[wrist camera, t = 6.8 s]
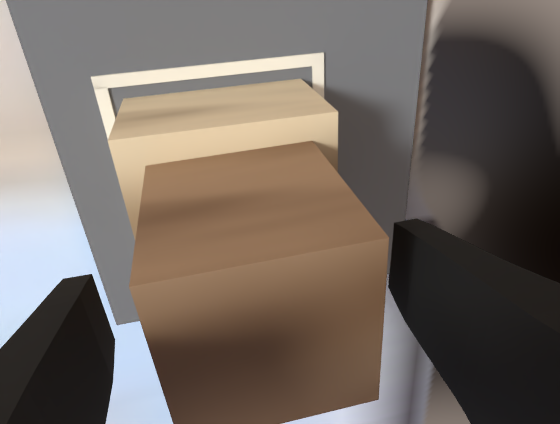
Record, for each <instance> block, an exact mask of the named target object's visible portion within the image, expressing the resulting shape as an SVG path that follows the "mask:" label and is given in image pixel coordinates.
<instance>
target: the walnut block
mask: <svg viewBox="0 0 560 424" xmlns="http://www.w3.org/2000/svg"><path fill="white" fill-rule="evenodd" d="M388 247H389V237H388V236H387V234H386V233H385V232H384V231H383V229H382V228H381V227H380V226H379V224H378V223H377V222H376V221H375V219H374V218H373V217H372V215H371V214H370V213H369V212H368V210H367V209H366V208H365V207H364V205H363V204H362V203H361V202H360V200H359V199H358V198H357V197H356V195H355V194H354V193H353V191H352V190H351V189H350V188H349V186H348V185H347V184H346V183H345V181H344V180H343V179H342V178H341V176H340V175H339V174H338V173H337V171H336V170H335V169H334V168H333V166H332V165H331V164H330V162H329V161H328V160H327V159H326V157H325V156H324V155H323V154H322V152H321V151H320V150H319V149H318V147H317V146H316V145H315V144H314V142H313V141H306V142H300V143H293V144H286V145H280V146H273V147H266V148H260V149H253V150H246V151H240V152H233V153H227V154H220V155H213V156H207V157H200V158H193V159H187V160H180V161H173V162H167V163H160V164H153V165H147V166H145V173H144V181H143V188H142V195H141V203H140V210H139V217H138V225H137V232H136V239H135V246H134V254H133V261H132V268H131V276H130V283H129V289H130V292H131V295H132V298H133V301H134V304H135V307H136V310H137V313H138V316H139V319H140V322H141V325H142V329H143V332H144V335H145V338H146V341H147V344H148V347H149V350H150V353H151V356H152V359H153V362H154V365H155V368H156V372H157V375H158V378H159V381H160V384H161V387H162V390H163V393H164V396H165V399H166V402H167V405H168V408H169V412H170V415H171V418H172V421H173V424H281V423H285V422H289V421H293V420H298V419H302V418H306V417H310V416H314V415H318V414H322V413H326V412H330V411H334V410H338V409H342V408H346V407H350V406H354V405H359V404H363V403H367V402H371V401H375V400H378V399H379V383H380V368H381V353H382V338H383V323H384V308H385V293H386V277H387V262H388Z"/></svg>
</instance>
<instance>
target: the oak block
mask: <svg viewBox="0 0 560 424" xmlns="http://www.w3.org/2000/svg"><path fill="white" fill-rule="evenodd" d="M306 141H313V142H314V144H315V145H316V146H317V147H318V149H319V150H320V151H321V152H322V154H323V155H324V156H325V157H326V159H327V160H328V161H329V162H330V164H331V165H332V166H333V168H334V169H335V170H336V171H337V173H338V111H337V110H336V109H335V108H334V107H332V106H331V105H330V104H329V103H328V102H327V101H326V100H325V99H323V98H322V97H321V96H320V95H319V94H318V93H317V92H316V91H314V90H313V89H312V88H311V87H310V86H309V85H308V84H307V83H305V82H304V81H303V80H302V79H293V80H284V81H275V82H266V83H257V84H248V85H239V86H231V87H222V88H213V89H204V90H195V91H186V92H177V93H168V94H160V95H151V96H142V97H133V98H124V99H123V101H122V103H121V106H120V109H119V111H118V114H117V117H116V119H115V122H114V125H113V127H112V130H111V133H110V135H109V138H108V144H109V148H110V151H111V155H112V159H113V162H114V166H115V170H116V173H117V177H118V180H119V184H120V188H121V191H122V195H123V199H124V202H125V206H126V209H127V213H128V217H129V220H130V224H131V228H132V231H133V235H134V238H135V239H136V232H137V225H138V217H139V210H140V203H141V195H142V188H143V181H144V173H145V166H147V165H153V164H160V163H167V162H173V161H180V160H187V159H193V158H200V157H207V156H213V155H220V154H227V153H233V152H240V151H246V150H253V149H260V148H266V147H273V146H280V145H286V144H293V143H300V142H306Z"/></svg>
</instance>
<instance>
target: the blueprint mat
mask: <svg viewBox="0 0 560 424" xmlns="http://www.w3.org/2000/svg"><path fill="white" fill-rule="evenodd" d="M427 1H428V0H6V2H7V5H8V8H9V11H10V14H11V17H12V20H13V23H14V26H15V29H16V32H17V35H18V37H19V40H20V43H21V46H22V49H23V52H24V55H25V58H26V61H27V64H28V67H29V70H30V73H31V76H32V78H33V81H34V84H35V87H36V90H37V93H38V96H39V99H40V102H41V105H42V108H43V111H44V114H45V117H46V119H47V122H48V125H49V128H50V131H51V134H52V137H53V140H54V143H55V146H56V149H57V152H58V155H59V158H60V160H61V163H62V166H63V169H64V172H65V175H66V178H67V181H68V184H69V187H70V190H71V193H72V196H73V199H74V201H75V204H76V207H77V210H78V213H79V216H80V219H81V222H82V225H83V228H84V231H85V234H86V237H87V239H88V242H89V245H90V248H91V251H92V254H93V257H94V260H95V263H96V266H97V269H98V272H99V275H100V278H101V280H102V283H103V286H104V289H105V292H106V295H107V298H108V301H109V304H110V307H111V310H112V313H113V316H114V319H115V321H116V324H117V325H120V324H126V323H131V322H136V321H140V319H139V316H138V313H137V310H136V307H135V304H134V301H133V298H132V295H131V292H130V289H129V283H130V276H131V268H132V261H133V254H134V246H135V238H134V235H133V231H132V228H131V224H130V220H129V217H128V213H127V209H126V206H125V202H124V199H123V195H122V191H121V188H120V184H119V180H118V177H117V173H116V170H115V166H114V162H113V159H112V155H111V151H110V148H109V144H108V138H109V135H110V133H111V130H112V127H113V125H114V122H115V119H116V117H117V114H118V111H119V109H120V106H121V103H122V101H123V99H124V98H133V97H142V96H151V95H160V94H168V93H177V92H186V91H195V90H204V89H213V88H222V87H231V86H239V85H248V84H257V83H266V82H275V81H284V80H293V79H302V80H303V81H304V82H305V83H307V84H308V85H309V86H310V87H311V88H312V89H313V90H314V91H316V92H317V93H318V94H319V95H320V96H321V97H322V98H323V99H325V100H326V101H327V102H328V103H329V104H330V105H331V106H332V107H334V108H335V109H336V110H337V111H338V174H339V175H340V176H341V178H342V179H343V180H344V181H345V183H346V184H347V185H348V186H349V188H350V189H351V190H352V191H353V193H354V194H355V195H356V197H357V198H358V199H359V200H360V202H361V203H362V204H363V205H364V207H365V208H366V209H367V210H368V212H369V213H370V214H371V215H372V217H373V218H374V219H375V221H376V222H377V223H378V224H379V226H380V227H381V228H382V229H383V231H384V232H385V233H386V234H387V236H388V237H389V247H388V262H387V274H390V262H391V251H392V240H393V228H394V222H400V221H405V215H406V205H407V195H408V185H409V176H410V166H411V156H412V147H413V137H414V127H415V117H416V108H417V98H418V88H419V79H420V69H421V59H422V49H423V40H424V30H425V20H426V11H427Z"/></svg>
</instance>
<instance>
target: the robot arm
mask: <svg viewBox="0 0 560 424" xmlns="http://www.w3.org/2000/svg"><path fill="white" fill-rule="evenodd" d="M388 287H389V289H390V291H391V293H392V296H393V298H394V300H395V302H396V304H397V306H398V308H399V310H400V312H401V314H402V316H403V318H404V320H405V322H406V323H407V325H408V327H409V328H410V330H411V331H412V333H413V334H414V336H415V337H416V339H417V340H418V342H419V344H420V345H421V347H422V348H423V350H424V351H425V353H426V354H427V356H428V357H429V359H430V360H431V362H432V363H433V365H434V366H435V368H436V369H437V371H438V372H439V373H440V375H441V377H442V378H443V380H444V381H445V382H446V384H447V385H448V387H449V389H450V390H451V391H452V393H453V394H454V396H455V397H456V399H457V401H458V403H459V404H460V406H461V407H462V409H463V411H464V412H465V414H466V416H467V418H468V420H469V421H470V423H471V424H560V283H558V282H555V281H553V280H550V279H548V278H545V277H543V276H540V275H538V274H536V273H533V272H531V271H529V270H526V269H524V268H521V267H519V266H517V265H514V264H512V263H510V262H508V261H506V260H504V259H501V258H499V257H497V256H495V255H493V254H490V253H489V252H487V251H484V250H482V249H480V248H478V247H476V246H474V245H472V244H470V243H468V242H466V241H464V240H462V239H460V238H458V237H456V236H454V235H452V234H450V233H448V232H446V231H444V230H441V229H439V228H437V227H435V226H433V225H431V224H429V223H426V222H424V221H422V220H419V219H412V220H406V221H400V222H394V228H393V240H392V251H391V262H390V274H389V285H388ZM114 351H115V338H114V336H113V333H112V330H111V327H110V324H109V321H108V319H107V316H106V313H105V310H104V307H103V304H102V302H101V299H100V296H99V293H98V290H97V287H96V285H95V282H94V279H93V276H92V274H89V275H83V276H77V277H71V278H65V279H63V280H62V281H61V282H60V283H59V284H58V285H57V286H56V287H55V288H54V289H53V290H52V291H51V293H50V294H49V295H48V296H47V297H46V298H45V299H44V301H43V302H42V303H41V304H40V305H39V306H38V307H37V309H36V310H35V311H34V312H33V313H32V314H31V315H30V317H29V318H28V319H27V320H26V321H25V322H24V323H23V324H22V325H21V327H20V328H19V329H18V330H17V331H16V332H15V333H14V334H13V335H12V336H11V338H10V339H9V340H8V341H7V342H6V343H5V344H4V345H3V346H2V348H1V349H0V424H105V423H106V417H107V412H108V406H109V401H110V395H111V389H112V383H113V371H114Z"/></svg>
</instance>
